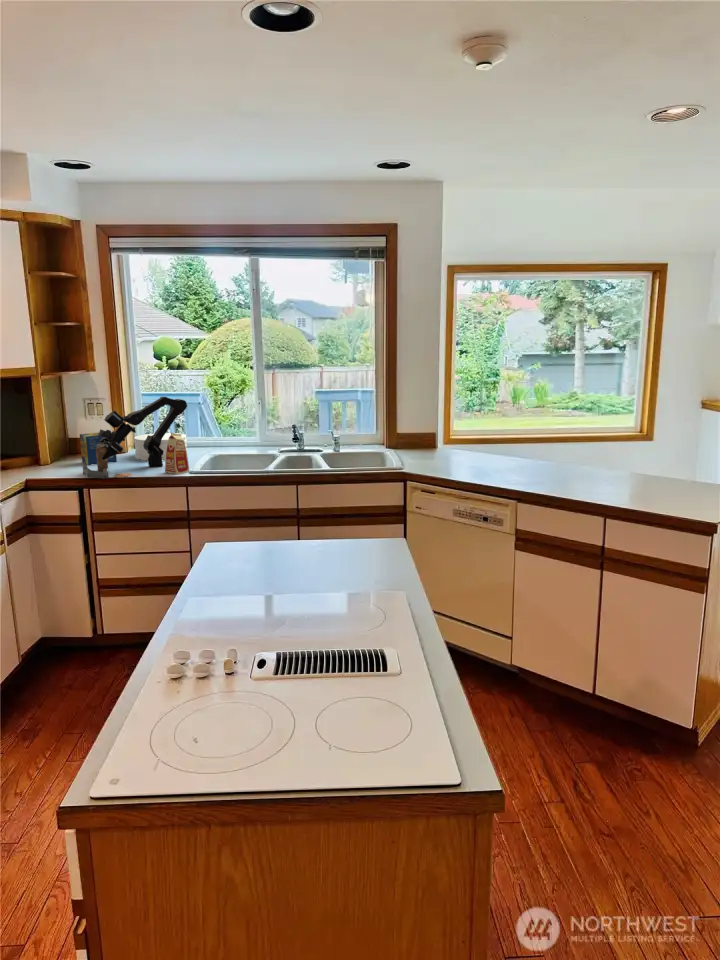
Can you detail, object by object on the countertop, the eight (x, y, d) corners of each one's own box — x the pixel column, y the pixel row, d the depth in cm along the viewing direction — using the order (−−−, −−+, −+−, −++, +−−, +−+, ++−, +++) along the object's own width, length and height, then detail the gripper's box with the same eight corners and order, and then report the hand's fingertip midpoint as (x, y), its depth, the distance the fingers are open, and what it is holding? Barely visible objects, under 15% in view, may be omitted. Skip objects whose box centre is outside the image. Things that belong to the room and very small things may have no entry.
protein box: (81, 462, 342) (79, 434, 339) (111, 459, 352) (108, 431, 348) (87, 465, 334) (85, 436, 331) (117, 462, 344) (115, 433, 340)
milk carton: (177, 474, 311) (174, 433, 306) (164, 472, 316) (161, 432, 311) (191, 471, 318) (188, 431, 314) (178, 469, 323) (175, 430, 319)
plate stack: (157, 451, 378) (156, 432, 376) (197, 454, 368) (196, 434, 366) (124, 459, 353) (123, 438, 350) (166, 462, 343) (165, 441, 340)
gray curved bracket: (86, 473, 315) (85, 463, 314) (109, 478, 302) (108, 468, 301) (77, 474, 311) (76, 465, 310) (100, 480, 299) (99, 470, 298)
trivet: (133, 474, 312) (132, 472, 312) (130, 477, 304) (130, 475, 304) (115, 474, 310) (115, 473, 310) (113, 478, 303) (112, 476, 302)
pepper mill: (109, 471, 318) (106, 443, 315) (107, 473, 314) (104, 444, 311) (99, 471, 317) (96, 443, 314) (97, 473, 313) (94, 445, 310)
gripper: (102, 421, 320) (81, 445, 316) (114, 425, 306) (92, 450, 302) (119, 435, 327) (98, 459, 322) (132, 440, 312) (110, 464, 308)
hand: (99, 458), depth 313 cm, fingers open, 9 cm apart
